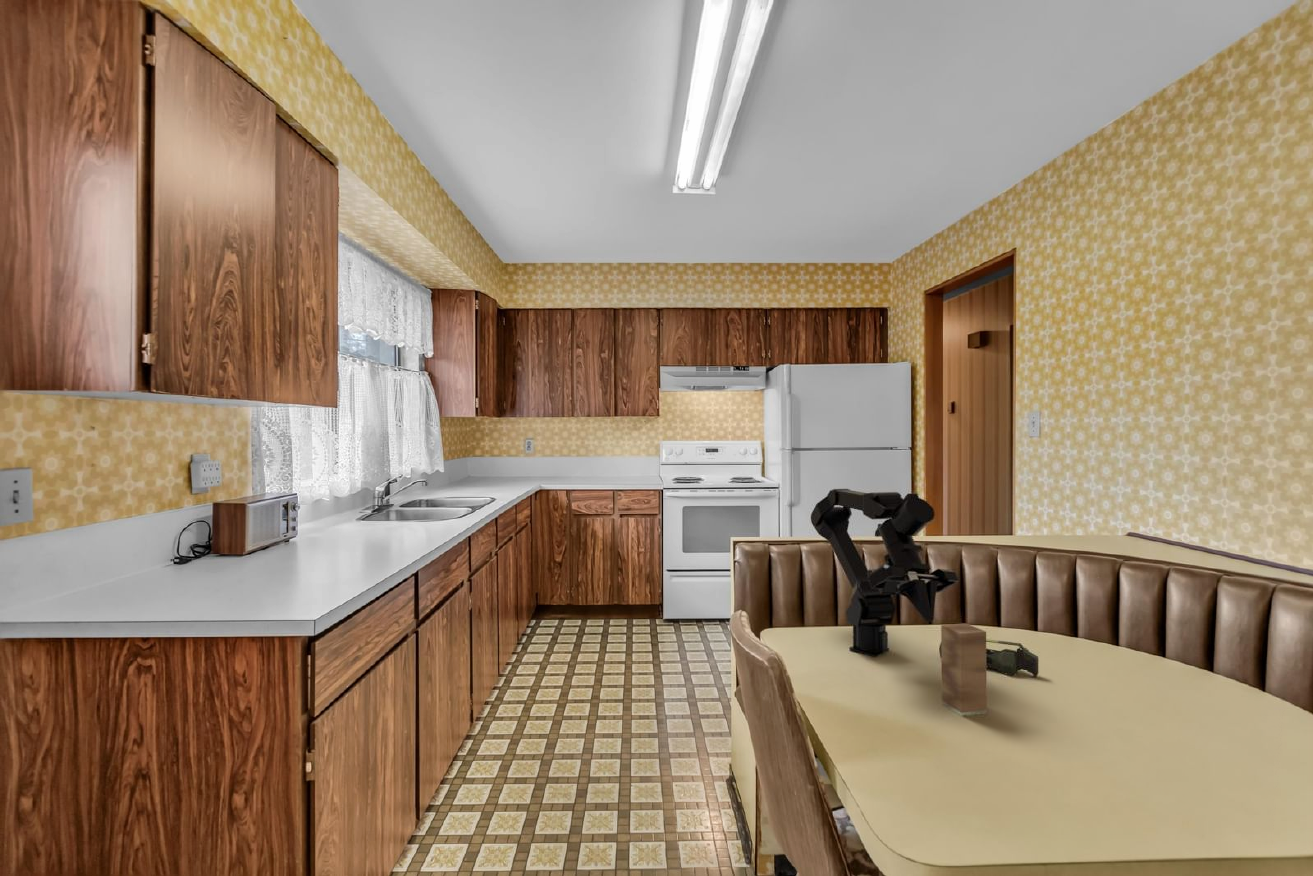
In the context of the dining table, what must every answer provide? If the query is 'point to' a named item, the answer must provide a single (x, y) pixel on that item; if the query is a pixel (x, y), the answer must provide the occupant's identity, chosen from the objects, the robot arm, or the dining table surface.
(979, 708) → the walnut block
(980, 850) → the dining table surface
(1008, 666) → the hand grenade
